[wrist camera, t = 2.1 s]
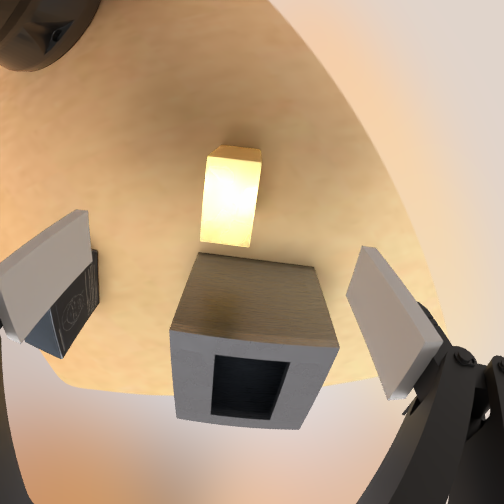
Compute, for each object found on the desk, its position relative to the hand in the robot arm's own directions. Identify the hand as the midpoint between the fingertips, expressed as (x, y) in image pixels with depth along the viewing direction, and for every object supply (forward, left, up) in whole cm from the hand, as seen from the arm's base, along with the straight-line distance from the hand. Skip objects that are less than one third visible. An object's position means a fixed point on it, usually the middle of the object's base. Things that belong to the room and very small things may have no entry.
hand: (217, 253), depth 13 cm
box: (+13, -18, -15) cm, 27 cm away
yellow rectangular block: (0, 0, -15) cm, 15 cm away
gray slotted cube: (+14, +3, -15) cm, 21 cm away
